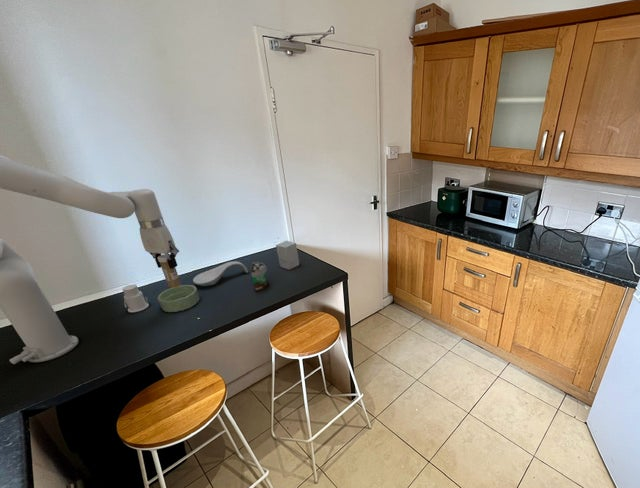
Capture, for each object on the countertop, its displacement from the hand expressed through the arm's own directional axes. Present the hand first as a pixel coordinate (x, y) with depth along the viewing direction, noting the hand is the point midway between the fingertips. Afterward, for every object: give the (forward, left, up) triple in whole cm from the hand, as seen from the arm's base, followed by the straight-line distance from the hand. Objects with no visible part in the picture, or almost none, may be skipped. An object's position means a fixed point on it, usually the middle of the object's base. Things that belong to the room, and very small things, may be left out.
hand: (167, 266), depth 125 cm
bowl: (0, 0, -18) cm, 18 cm away
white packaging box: (+43, -27, -18) cm, 54 cm away
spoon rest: (+23, -2, -18) cm, 29 cm away
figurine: (+21, -25, -18) cm, 37 cm away
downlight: (-6, +15, -18) cm, 24 cm away
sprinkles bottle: (0, 0, -9) cm, 9 cm away
